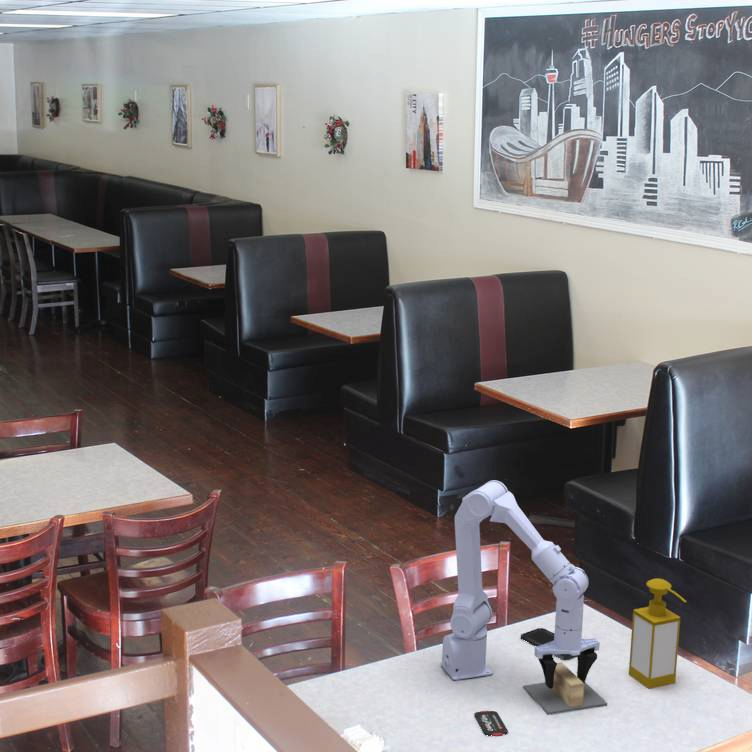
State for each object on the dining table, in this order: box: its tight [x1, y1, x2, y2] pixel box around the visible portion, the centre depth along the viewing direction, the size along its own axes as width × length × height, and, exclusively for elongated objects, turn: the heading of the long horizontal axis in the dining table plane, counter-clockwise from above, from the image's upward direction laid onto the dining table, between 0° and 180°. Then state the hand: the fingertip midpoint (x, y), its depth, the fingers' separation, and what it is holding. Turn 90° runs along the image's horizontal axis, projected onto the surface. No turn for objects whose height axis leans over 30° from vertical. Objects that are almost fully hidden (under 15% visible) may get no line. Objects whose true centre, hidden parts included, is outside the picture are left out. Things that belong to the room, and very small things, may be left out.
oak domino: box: [552, 661, 584, 707], centre depth 235 cm, size 10×3×5 cm, turn 18°
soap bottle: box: [628, 578, 687, 690], centre depth 240 cm, size 7×13×24 cm, turn 24°
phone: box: [520, 627, 577, 662], centre depth 260 cm, size 8×1×15 cm
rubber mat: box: [522, 681, 608, 715], centre depth 236 cm, size 14×12×1 cm
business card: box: [473, 710, 509, 737], centre depth 224 cm, size 10×1×5 cm
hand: (565, 684), depth 236 cm, fingers open, 7 cm apart
